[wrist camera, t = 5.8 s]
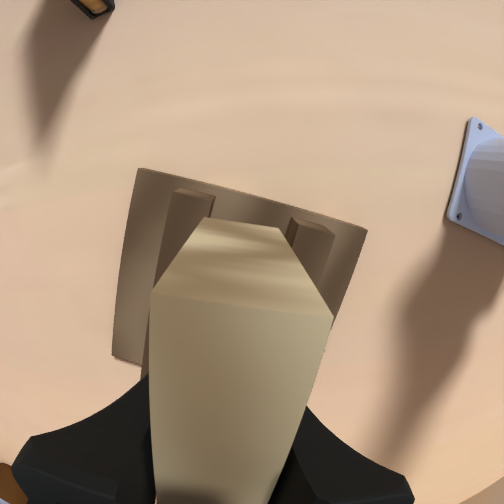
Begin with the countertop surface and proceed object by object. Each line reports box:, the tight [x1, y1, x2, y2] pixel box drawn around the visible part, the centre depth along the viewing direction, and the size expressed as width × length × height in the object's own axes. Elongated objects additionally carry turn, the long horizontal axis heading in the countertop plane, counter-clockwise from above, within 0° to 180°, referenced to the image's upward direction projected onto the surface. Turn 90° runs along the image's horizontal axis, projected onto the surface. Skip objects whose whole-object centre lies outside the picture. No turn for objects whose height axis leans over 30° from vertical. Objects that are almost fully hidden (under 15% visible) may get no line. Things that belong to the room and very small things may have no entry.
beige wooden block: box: [149, 217, 334, 504], centre depth 10 cm, size 3×10×8 cm, turn 171°
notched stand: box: [112, 168, 368, 380], centre depth 19 cm, size 14×13×4 cm
